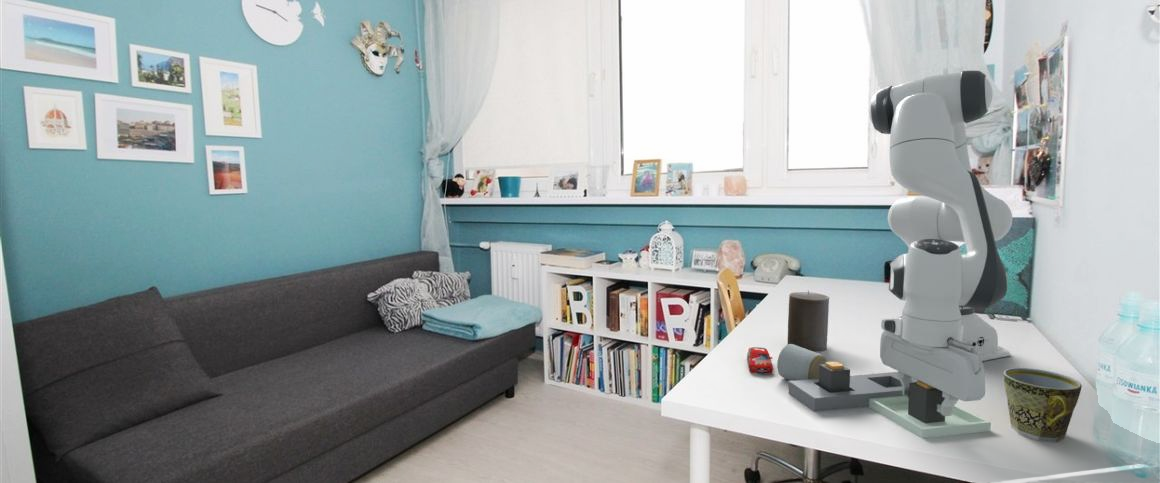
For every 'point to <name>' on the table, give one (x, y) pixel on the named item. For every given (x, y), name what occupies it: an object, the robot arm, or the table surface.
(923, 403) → the plug
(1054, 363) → the table surface
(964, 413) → the tray
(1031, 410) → the ceramic cup
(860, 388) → the power strip
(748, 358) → the race car
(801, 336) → the pillar candle
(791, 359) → the ceramic mug
